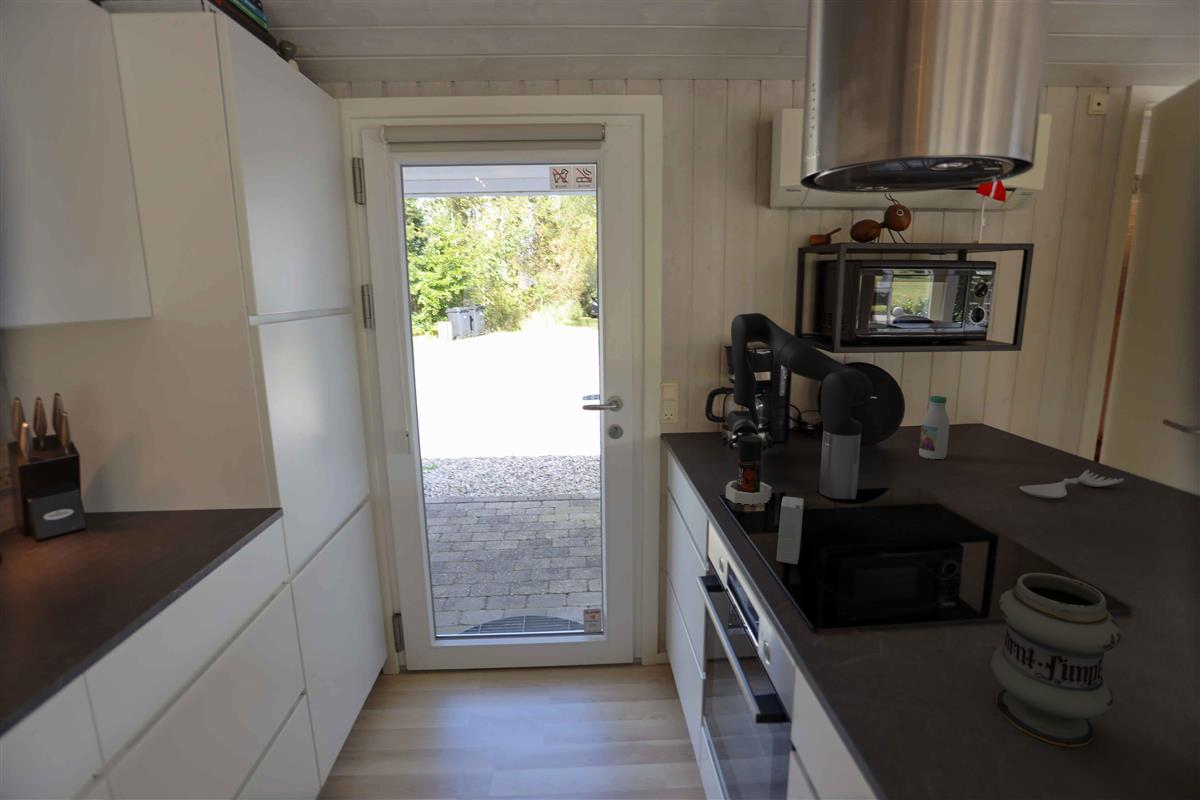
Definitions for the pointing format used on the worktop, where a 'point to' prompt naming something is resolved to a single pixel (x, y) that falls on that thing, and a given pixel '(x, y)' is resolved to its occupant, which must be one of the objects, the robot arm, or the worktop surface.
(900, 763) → the worktop surface
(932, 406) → the milk bottle
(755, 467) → the deodorant
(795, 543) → the skincare box
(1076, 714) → the apothecary jar
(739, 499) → the dish
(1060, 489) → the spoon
